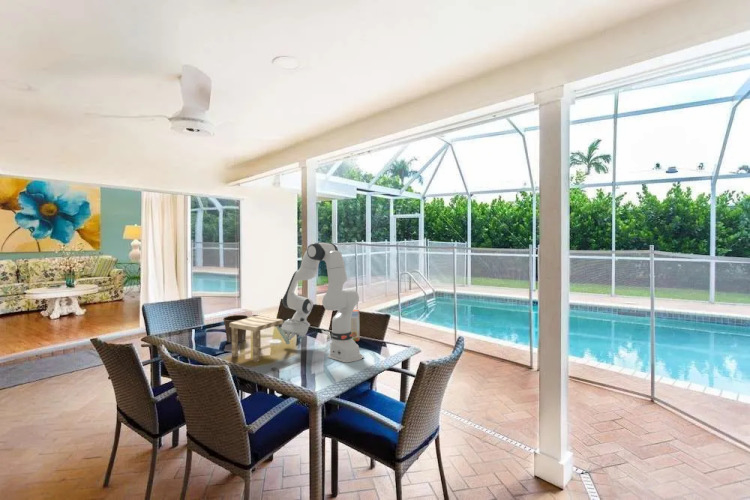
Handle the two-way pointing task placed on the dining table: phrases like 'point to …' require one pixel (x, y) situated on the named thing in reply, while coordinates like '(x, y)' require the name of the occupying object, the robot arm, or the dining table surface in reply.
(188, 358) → the dining table surface
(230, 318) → the plant pot
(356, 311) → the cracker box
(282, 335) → the folding leg
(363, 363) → the dining table surface
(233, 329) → the stool
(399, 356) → the dining table surface
